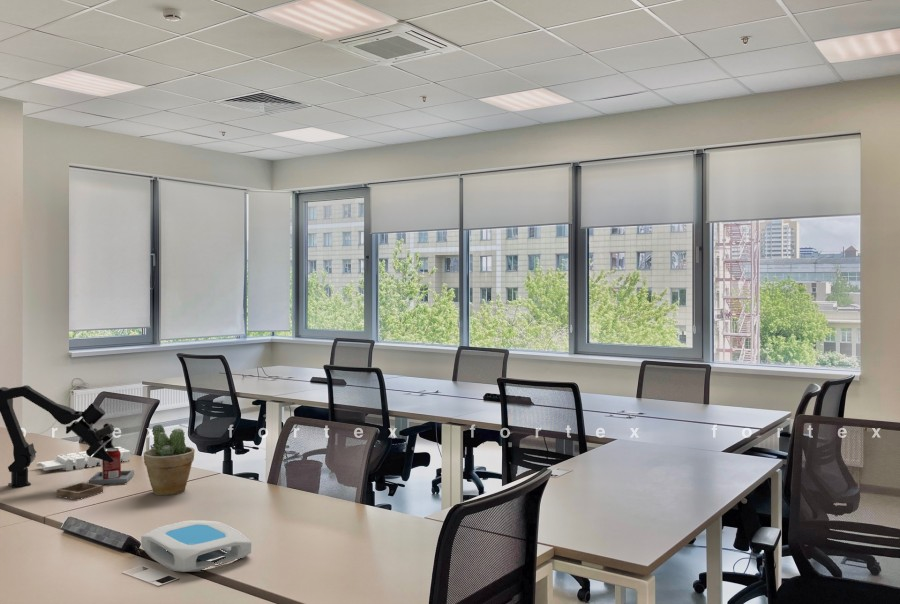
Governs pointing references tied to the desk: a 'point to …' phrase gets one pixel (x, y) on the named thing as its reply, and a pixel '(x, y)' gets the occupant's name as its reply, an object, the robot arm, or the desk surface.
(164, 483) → the potted plant
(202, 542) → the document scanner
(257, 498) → the desk surface
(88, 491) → the square frame
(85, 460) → the organizer
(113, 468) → the soda can
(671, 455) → the desk surface
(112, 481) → the tray
